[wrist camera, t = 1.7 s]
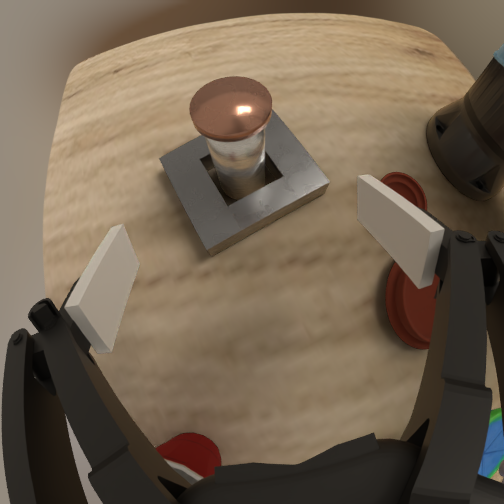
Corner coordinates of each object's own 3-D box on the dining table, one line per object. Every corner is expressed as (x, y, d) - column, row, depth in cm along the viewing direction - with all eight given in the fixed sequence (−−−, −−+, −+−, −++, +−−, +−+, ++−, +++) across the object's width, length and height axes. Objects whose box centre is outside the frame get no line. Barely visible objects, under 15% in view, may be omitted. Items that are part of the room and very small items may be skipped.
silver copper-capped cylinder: (252, 149, 32) (246, 67, 19) (279, 188, 30) (288, 112, 18) (207, 172, 31) (177, 97, 18) (231, 214, 30) (210, 148, 17)
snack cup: (489, 398, 23) (536, 411, 13) (458, 463, 21) (497, 488, 12) (415, 385, 25) (467, 406, 15) (378, 462, 23) (413, 504, 13)
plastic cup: (218, 398, 26) (190, 449, 14) (258, 474, 24) (254, 542, 12) (133, 421, 25) (77, 462, 14) (175, 490, 23) (142, 548, 12)
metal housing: (268, 119, 32) (268, 104, 30) (324, 193, 30) (329, 181, 27) (167, 170, 31) (159, 158, 29) (212, 256, 29) (206, 250, 26)
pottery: (391, 363, 26) (409, 370, 22) (340, 192, 30) (351, 175, 26) (464, 325, 26) (486, 325, 22) (418, 176, 30) (434, 160, 26)
